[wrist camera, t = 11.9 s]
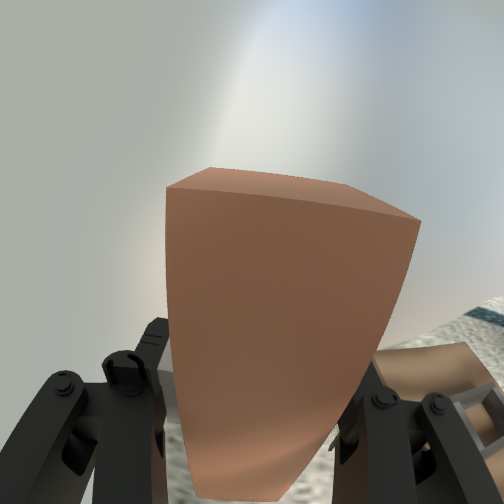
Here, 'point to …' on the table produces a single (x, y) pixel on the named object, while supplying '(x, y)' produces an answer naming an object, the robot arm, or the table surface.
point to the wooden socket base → (452, 392)
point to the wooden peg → (273, 318)
